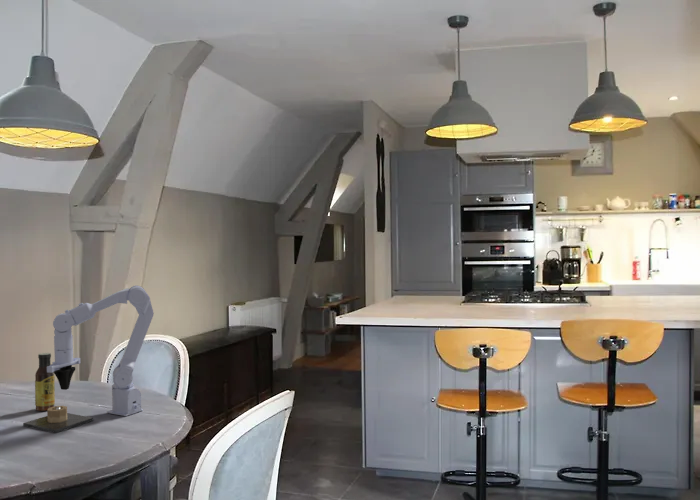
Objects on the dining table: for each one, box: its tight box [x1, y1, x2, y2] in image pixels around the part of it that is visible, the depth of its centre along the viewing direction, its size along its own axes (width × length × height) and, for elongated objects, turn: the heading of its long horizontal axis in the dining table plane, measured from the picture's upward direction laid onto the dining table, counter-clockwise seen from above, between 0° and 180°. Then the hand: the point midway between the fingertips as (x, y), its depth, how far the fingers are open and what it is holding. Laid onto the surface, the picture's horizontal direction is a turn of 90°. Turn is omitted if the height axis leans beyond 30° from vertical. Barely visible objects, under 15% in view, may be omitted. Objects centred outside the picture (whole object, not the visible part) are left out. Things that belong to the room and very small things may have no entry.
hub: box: [22, 407, 94, 434], centre depth 207 cm, size 16×14×5 cm
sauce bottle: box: [34, 352, 56, 412], centre depth 224 cm, size 6×6×20 cm
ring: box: [46, 405, 68, 423], centre depth 207 cm, size 6×6×4 cm
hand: (64, 389), depth 213 cm, fingers closed
